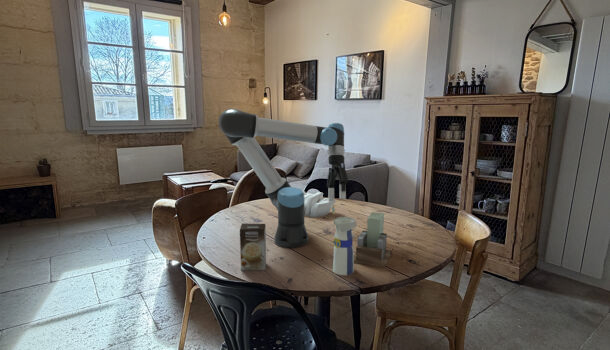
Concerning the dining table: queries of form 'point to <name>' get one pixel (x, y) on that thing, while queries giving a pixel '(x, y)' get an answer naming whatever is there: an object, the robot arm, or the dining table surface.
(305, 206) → the wavy white extrusion
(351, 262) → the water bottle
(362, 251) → the band guide
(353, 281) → the dining table surface
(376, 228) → the sage block
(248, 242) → the food box
